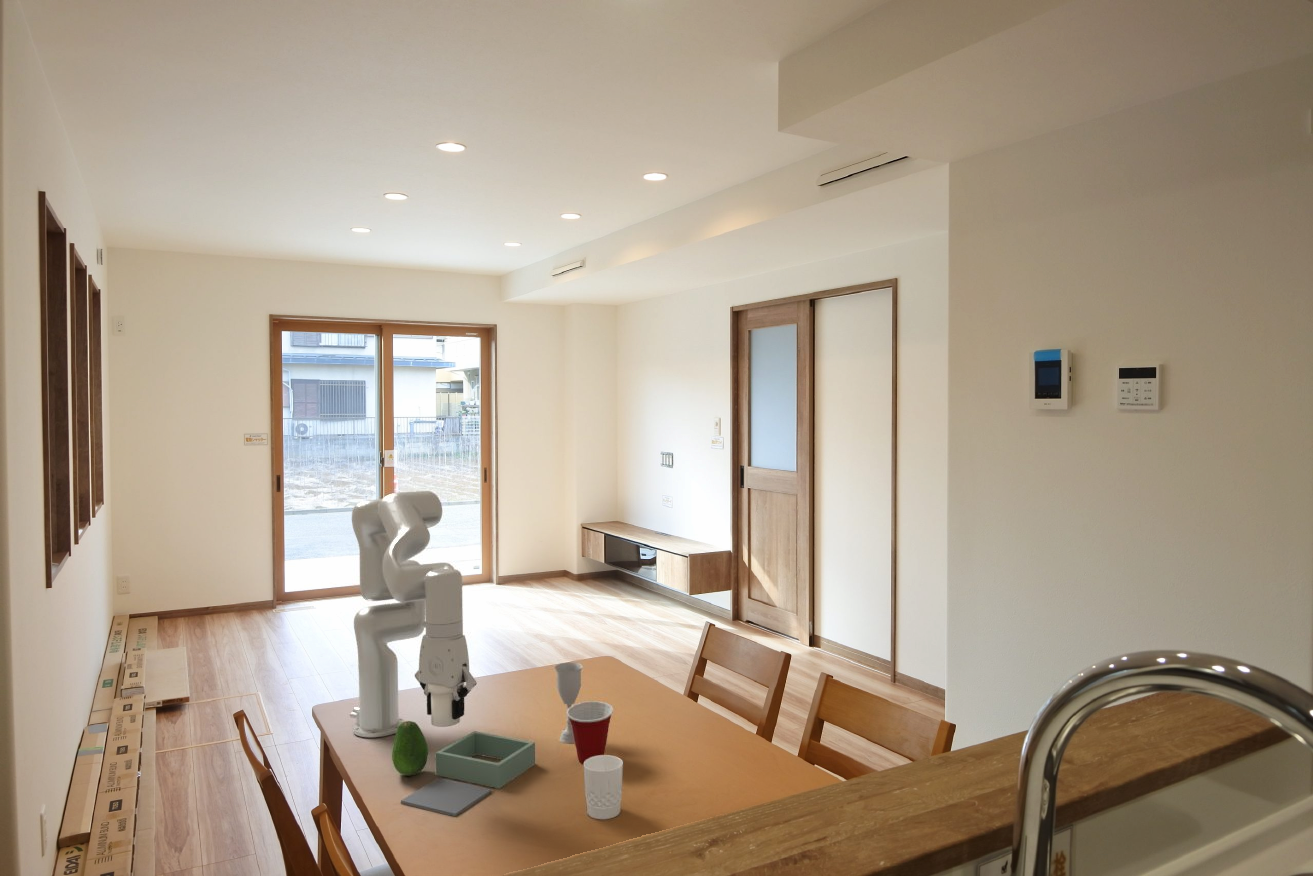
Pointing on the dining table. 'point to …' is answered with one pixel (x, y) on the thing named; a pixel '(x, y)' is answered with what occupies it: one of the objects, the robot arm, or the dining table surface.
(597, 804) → the white cup
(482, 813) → the dining table surface
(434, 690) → the white mushroom shaped cylinder
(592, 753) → the plastic cup
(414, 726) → the avocado
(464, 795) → the mat
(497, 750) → the green open box
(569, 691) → the chalice
